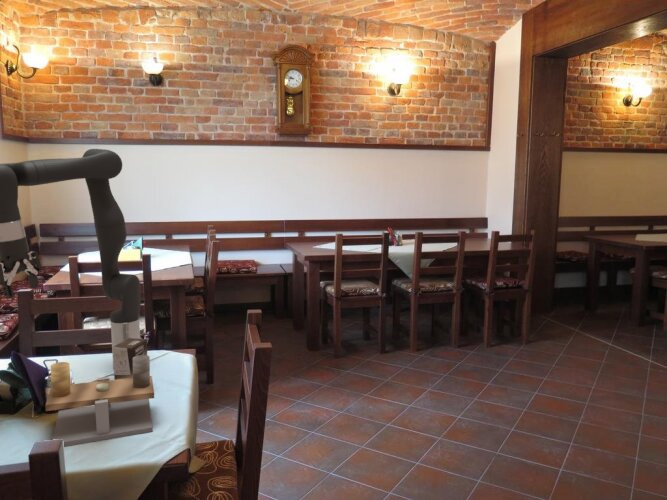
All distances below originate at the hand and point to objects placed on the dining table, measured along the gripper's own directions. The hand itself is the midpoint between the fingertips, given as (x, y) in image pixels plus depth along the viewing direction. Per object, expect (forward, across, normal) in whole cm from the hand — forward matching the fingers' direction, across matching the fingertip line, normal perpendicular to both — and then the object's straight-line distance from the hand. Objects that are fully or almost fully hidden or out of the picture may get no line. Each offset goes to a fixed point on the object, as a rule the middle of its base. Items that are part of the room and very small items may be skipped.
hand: (22, 292), depth 148 cm
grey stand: (+35, -7, -26) cm, 44 cm away
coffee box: (+37, +12, -21) cm, 44 cm away
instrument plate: (+26, -6, -26) cm, 37 cm away
